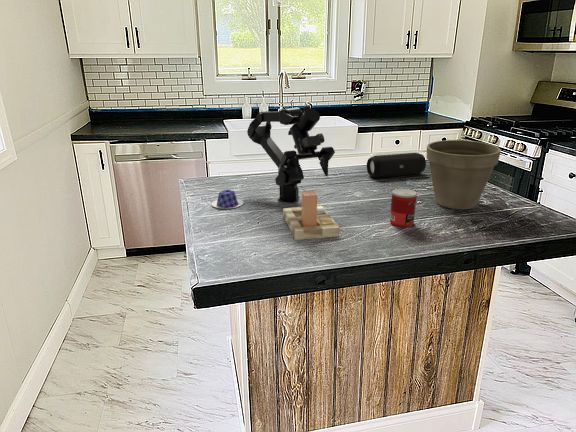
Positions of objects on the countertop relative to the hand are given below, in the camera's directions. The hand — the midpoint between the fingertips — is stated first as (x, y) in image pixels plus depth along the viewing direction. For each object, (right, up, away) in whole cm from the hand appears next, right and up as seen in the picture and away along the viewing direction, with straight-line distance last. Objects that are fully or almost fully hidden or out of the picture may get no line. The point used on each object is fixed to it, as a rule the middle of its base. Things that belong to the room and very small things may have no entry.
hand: (315, 177), depth 152 cm
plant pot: (+54, -9, +16) cm, 57 cm away
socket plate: (-2, -17, -4) cm, 17 cm away
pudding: (-32, -9, +16) cm, 37 cm away
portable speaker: (+40, +5, +52) cm, 66 cm away
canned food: (+29, -16, -2) cm, 33 cm away
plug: (-3, -18, -9) cm, 21 cm away
